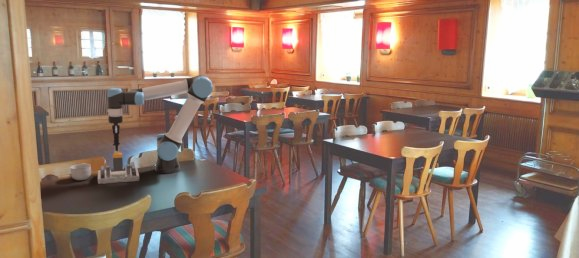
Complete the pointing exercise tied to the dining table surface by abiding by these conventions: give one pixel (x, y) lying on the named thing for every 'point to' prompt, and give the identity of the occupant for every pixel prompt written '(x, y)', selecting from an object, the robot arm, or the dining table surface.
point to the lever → (117, 162)
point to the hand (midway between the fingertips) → (116, 156)
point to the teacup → (81, 171)
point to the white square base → (131, 169)
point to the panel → (117, 175)
